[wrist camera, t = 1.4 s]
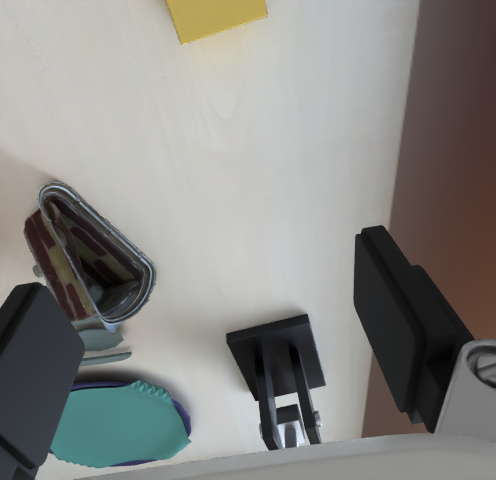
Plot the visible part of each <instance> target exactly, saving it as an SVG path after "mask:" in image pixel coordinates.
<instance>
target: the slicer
mask: <svg viewBox="0 0 496 480" xmlns="http://www.w3.org/2000/svg"><path fill="white" fill-rule="evenodd" d="M226 336H227V344H228V346H229V348H230V350H231V352H232V354H233V356H234V358H235V360H236V362H237V365H238V367H239V369H240V371H241V373H242V375H243V377H244V379H245V381H246V383H247V385H248V387H249V389H250V391H251V393H252V395H253V397H254V399H255V401H259V410H260V420H261V423H260V424H259V429H260V434H261V438H262V439H263V440H264V442H265V444H266V446H267V448H268V450H269V451H272V450H279V449H282V446H281V440H280V435H279V432H278V428H277V418H276V405H275V398H274V397H277V396H282V395H286V394H290V393H295V392H297V393H298V398H299V403H300V408H301V412H302V417H303V422H304V427H305V431H306V434H307V436H308V439H309V442H310V444H311V445H314V444H322V443H321V438H320V434H319V430H318V427H322V423H321V419H320V415H319V412H318V411H315V412H314V408H313V404H312V400H311V396H310V391H309V389H312V388H317V387H321V386H326V382H325V379H324V375H323V371H322V367H321V363H320V360H319V356H318V352H317V348H316V344H315V341H314V337H313V333H312V329H311V325H310V322H309V318H308V315H307V314H305V315H301V316H297V317H293V318H289V319H285V320H281V321H277V322H273V323H269V324H265V325H261V326H257V327H253V328H249V329H245V330H241V331H237V332H233V333H229V334H226Z"/></svg>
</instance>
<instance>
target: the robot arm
mask: <svg viewBox="0 0 496 480" xmlns="http://www.w3.org/2000/svg"><path fill="white" fill-rule="evenodd" d="M353 298H354V306H355V309H356V312H357V314H358V316H359V319H360V321H361V323H362V326H363V328H364V330H365V333H366V335H367V337H368V340H369V342H370V345H371V347H372V349H373V352H374V354H375V356H376V358H377V361H378V363H379V366H380V368H381V370H382V372H383V375H384V377H385V380H386V382H387V384H388V387H389V389H390V391H391V393H392V396H393V398H394V401H395V403H396V405H397V407H398V409H399V411H400V412H401V413H402V412H407V414H408V417H409V419H410V421H411V423H412V424H417V423H423V422H424V424H425V427H426V429H427V431H429V432H430V433H432V434H417V433H416V434H402V435H389V436H378V437H370V438H363V439H354V440H346V441H338V442H330V443H322V444H314V445H307V446H300V447H293V448H286V449H279V450H272V451H265V452H258V453H251V454H243V455H236V456H229V457H222V458H215V459H209V460H202V461H195V462H188V463H181V464H174V465H167V466H161V467H154V468H147V469H140V470H133V471H127V472H120V473H113V474H106V475H100V476H93V477H87V478H80V479H73V480H496V341H495V340H491V339H478V340H475V339H474V337H473V336H472V334H471V333H470V332H469V330H468V329H467V328H466V326H465V325H464V323H463V322H462V321H461V319H460V318H459V317H458V315H457V314H456V312H455V311H454V310H453V308H452V307H451V306H450V304H449V303H448V302H447V300H446V299H445V297H444V296H443V295H442V293H441V292H440V291H439V289H438V288H437V286H436V285H435V284H434V283H433V281H432V280H431V278H430V277H429V275H428V274H427V273H426V271H425V270H424V269H423V268H422V267H421V266H419V265H414V266H411V265H410V263H409V262H408V260H407V259H406V257H405V256H404V255H403V253H402V252H401V250H400V249H399V247H398V246H397V244H396V243H395V242H394V240H393V239H392V237H391V236H390V234H389V233H388V231H387V230H386V229H385V227H384V226H382V225H380V226H374V227H368V228H363V229H362V231H361V234H357V235H356V236H355V264H354V297H353ZM84 352H85V345H84V342H83V340H82V338H81V337H80V335H79V334H78V332H77V331H76V329H75V328H74V326H73V325H72V323H71V322H70V320H69V319H68V317H67V316H66V314H65V313H64V311H63V309H62V308H61V306H60V305H59V303H58V302H57V300H56V299H55V297H54V296H53V294H52V293H51V291H50V290H49V288H48V287H47V286H43V285H42V284H41V283H39V282H33V283H27V284H21V285H17V286H15V288H14V289H13V290H12V292H11V293H10V294H9V296H8V297H7V299H6V300H5V302H4V303H3V305H2V306H1V308H0V480H34V479H35V477H36V474H37V471H38V469H39V466H41V465H43V463H44V462H45V460H46V458H47V455H48V452H49V450H50V447H51V444H52V441H53V439H54V436H55V433H56V430H57V427H58V425H59V422H60V419H61V416H62V414H63V411H64V408H65V405H66V402H67V400H68V397H69V394H70V391H71V389H72V386H73V383H74V380H75V378H76V375H77V372H78V369H79V366H80V364H81V361H82V358H83V355H84Z"/></svg>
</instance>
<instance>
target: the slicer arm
mask: <svg viewBox="0 0 496 480" xmlns="http://www.w3.org/2000/svg"><path fill="white" fill-rule="evenodd" d="M276 418H277V428H278V432H279V435H280V439H281V442H282V446H283V448H285V449H286V448H293V447H299V444H303V443H305V436H304V428H303V423H302V419H301V416H300V412H299V409H298V405H297V404H294V405H289V406H285V407H280V408H276Z"/></svg>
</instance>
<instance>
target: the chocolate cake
mask: <svg viewBox="0 0 496 480" xmlns="http://www.w3.org/2000/svg"><path fill="white" fill-rule="evenodd" d="M74 191H75V190H74V189H71V187H70V188H69V187H67V186H66V185H65V184H61V183H59V182H51V183H49V184H45V185H44V186H43V187H41V188H39V193H38V199H37V200H38V206H39V207H40V209H41V210H38V211H36V212H35V213H34V214H33V215H32V216H31V218H28V219H27V220H26V221H25V229H24V235H25V238H26V241H27V244H28V246H29V249H30V251H31V253H32V254H33V256H34V258H35V261H36V264H37V265H35V266H34V267H33V272H34V274H35V275H36V276H37V277H38V278H40V277H44V278H45V280H46V284H47V286H48V288H49V290H50V291H51V292H52V294H53V296H54V297H55V299H56V300H57V302H58V303H59V305H60V306H61V308H62V309H63V311H64V313H65V314H66V316H67V317H68V319H69V320H70V322H71V323H75V322H80V321H84V320H87V319H90V318H93V317H96V316H97V315H99V317H100V319H101V321H102V322H103V324H104V326H105V328H107V329H108V331H109V332H110V333H111V334H114V333H115V332H116V329H118V328H119V326H120V324H121V323H122V322H124V321H125V320H126V319H130V318H131V317H132V316H134V315H135V314H137V313H138V312H139V311H140V310H141V308H142V307H143V306H144V305H145V304H146V303H147V302H148V301H149V299H148V298H149V297H150V294H151V293H152V290H153V288H154V286H155V280H156V278H155V277H156V270H155V269H154V267H153V264H152V262H150V261H149V260H148V259H147V258H146V257H145V254H141V253H140V252H139V251H138V249H137V248H136V247H135V246H134V245H133V244H131V243H130V242H129V241H128V240H127V239H126V238H124V236H122V235H121V234H120V232H118V230H116V229H114V227H113V226H112V225H110V223H109V222H108V221H107V220H105V219H103V218H102V217H100V216H99V214H98V213H96V211H94V209H93V208H92V207H91V206H89V205H88V204H87V203H86V202H85V201H84V200H83V199H82V198H81V197H80V196H79V195H78V194H77V193H76V192H74Z"/></svg>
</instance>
